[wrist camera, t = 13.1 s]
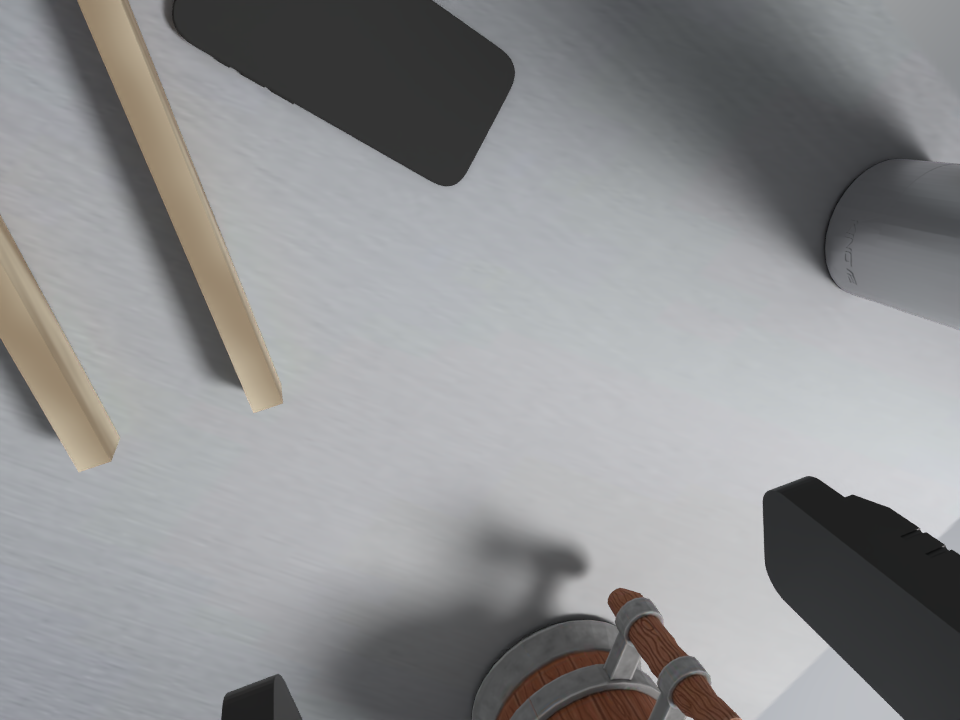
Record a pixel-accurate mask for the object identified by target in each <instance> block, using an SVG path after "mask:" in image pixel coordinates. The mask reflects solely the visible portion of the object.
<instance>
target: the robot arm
mask: <svg viewBox="0 0 960 720" xmlns="http://www.w3.org/2000/svg"><path fill="white" fill-rule="evenodd" d="M825 254H826V263H827V266H828V270H829V273H830V275H831V277H832V278H833V280H834V281H835V283H836V284H837V285H838V286H839V287H840V288H841V289H843V290H844V291H846V292H848V293H850V294H853V295H855V296H859V297H862V298H865V299H868V300H871V301H874V302H877V303H880V304H883V305H886V306H889V307H892V308H895V309H897V310H900V311H903V312H906V313H909V314H912V315H915V316H918V317H921V318H924V319H927V320H930V321H933V322H936V323H939V324H943V325H946V326H949V327H952V328H955V329H958V330H960V164H954V163H943V162H932V161H922V160H911V159H890V160H887V161H884V162H881V163H878V164H876V165H875V166H873V167H871V168H869V169H868V170H866V171H865V172H864V173H863V174H861V175H860V176H859V177H858V178H857V179H856V180H855V181H854V182H853V183H852V184H851V185H850V187H849V188H848V189H847V190H846V191H845V193H844V194H843V196H842V197H841V199H840V201H839V202H838V204H837V206H836V208H835V210H834V213H833V215H832V217H831V220H830V223H829V227H828V231H827V235H826V245H825ZM763 524H764V553H765V566H766V570H767V573H768V576H769V578H770V580H771V582H772V584H773V586H774V588H775V589H776V591H777V592H778V594H779V595H780V596H781V598H782V599H783V600H784V601H785V602H786V603H787V604H788V605H789V606H790V607H791V608H792V609H793V610H794V611H795V612H796V613H797V614H798V615H799V616H800V617H801V618H802V619H803V620H804V621H805V622H806V623H807V624H808V625H809V626H810V627H811V628H812V629H813V630H814V631H815V632H816V633H817V634H818V635H819V636H820V637H821V638H822V639H823V640H824V641H826V642H827V643H828V644H829V645H830V646H831V647H832V648H833V649H834V650H835V651H836V652H837V653H838V654H839V655H840V656H841V657H842V658H843V659H844V660H845V661H846V662H847V663H848V664H849V665H850V666H851V667H852V668H853V669H854V670H855V671H856V672H857V673H858V674H859V675H860V676H861V677H862V678H863V679H864V680H865V681H866V682H867V683H868V684H869V685H870V686H871V687H872V688H873V689H874V690H875V691H876V692H877V693H878V694H879V695H880V696H881V697H882V698H883V699H884V700H885V701H886V702H887V703H888V704H889V705H890V706H891V707H892V708H893V709H894V710H895V711H896V712H897V713H898V714H899V715H900V716H902V718H903V719H904V720H960V555H959V554H958V553H956V552H955V551H953V550H950V551H949V550H947V548H946V546H945V545H944V544H943V543H941V542H940V541H938V540H937V539H935V538H934V537H932V536H931V535H929V534H928V533H922V532H921V530H920V528H919V527H917V526H916V525H914V524H913V523H911V522H910V521H908V520H907V519H905V518H904V517H902V516H901V515H899V514H898V513H896V512H895V511H893V510H892V509H890V508H888V507H886V506H883V505H880V504H877V503H875V502H872V501H869V500H866V499H863V498H861V497H858V496H855V495H850V496H848V497H843V496H842V495H840V494H839V493H838V492H836V491H835V490H833V489H832V488H830V487H829V486H828V485H826V484H825V483H823V482H822V481H820V480H819V479H817V478H815V477H811V476H807V477H804V478H801V479H798V480H796V481H793V482H791V483H788V484H785V485H783V486H780V487H777V488H775V489H772V490H769V491H767V492H766V493H765V495H764V497H763ZM221 720H302V717H301V715H300V713H299V711H298V709H297V707H296V705H295V702H294V700H293V698H292V696H291V694H290V692H289V690H288V687H287V685H286V683H285V681H284V679H283V678H282V676H281V675H279V674H276V675H274V676H271V677H268V678H266V679H263V680H260V681H258V682H255V683H252V684H250V685H247V686H244V687H242V688H239V689H236V690H234V691H231V692H228V693H227V694H226V695H225V697H224V700H223V707H222V718H221Z"/></svg>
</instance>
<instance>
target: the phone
mask: <svg viewBox="0 0 960 720" xmlns="http://www.w3.org/2000/svg"><path fill="white" fill-rule="evenodd" d="M172 16H173V22H174V25H175V27H176V29H177V30H178V32H179V33H180V34H181V36H182V37H183V38H184V39H186V40H187V41H188V42H189V43H191V44H192V45H194V46H195V47H197V48H199V49H200V50H202V51H204V52H206V53H207V54H209V55H211V56H213V57H214V58H216V59H218V62H220V63H222V64H224V65H225V66H227V67H232V68H234V69H235V70H237V71H239V72H241V75H243V76H245V77H247V78H248V79H250V80H252V81H254V82H255V83H257V84H259V85H261V86H262V87H267V88H269V89H270V90H271V92H273V93H275V94H276V95H278V96H280V97H282V98H283V99H285V100H287V101H289V102H290V103H292V104H294V103H295V104H297V105H298V106H300V107H302V108H304V109H305V110H307V111H309V112H311V113H312V114H314V115H316V116H318V117H319V118H321V119H323V120H325V121H326V122H328V123H330V124H332V125H333V126H335V127H337V128H339V129H340V130H342V131H344V132H346V133H347V134H349V135H351V136H353V137H354V138H356V139H358V140H360V141H361V142H363V143H365V144H367V145H369V146H370V147H372V148H374V149H376V150H377V151H379V152H381V153H383V154H384V155H386V156H388V157H390V158H391V159H393V160H395V161H397V162H398V163H400V164H402V165H404V166H405V167H407V168H409V169H411V170H412V171H414V172H416V173H418V174H419V175H421V176H423V177H425V178H426V179H428V180H430V181H432V182H434V183H436V184H438V185H442V186H452V185H455V184H457V183H458V182H459V181H460V180H461V179H462V178H463V177H464V176H465V174H466V173H467V171H468V169H469V167H470V165H471V163H472V161H473V160H474V158H475V156H476V154H477V152H478V150H479V148H480V146H481V144H482V143H483V141H484V139H485V137H486V135H487V133H488V131H489V129H490V127H491V125H492V124H493V122H494V120H495V118H496V116H497V114H498V112H499V110H500V108H501V106H502V104H503V103H504V101H505V99H506V97H507V95H508V93H509V91H510V89H511V87H512V84H513V81H514V76H515V70H514V65H513V63H512V61H511V59H510V58H509V56H508V55H507V54H506V53H505V52H504V51H502V50H501V49H500V48H498V47H497V46H496V45H494V44H493V43H492V42H490V41H489V40H487V39H486V38H484V37H483V36H482V35H480V34H479V33H477V32H476V31H475V30H473V29H472V28H470V27H469V26H468V25H466V24H465V23H463V22H462V21H461V20H459V19H458V18H456V17H455V16H453V15H452V14H451V13H449V12H448V11H446V10H445V9H444V8H442V7H441V6H439V5H438V4H437V3H435V2H434V1H432V0H175V1H174V4H173V10H172Z"/></svg>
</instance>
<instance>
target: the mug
mask: <svg viewBox="0 0 960 720" xmlns="http://www.w3.org/2000/svg"><path fill="white" fill-rule="evenodd" d="M608 605H609V607H610V608H611V610H612V612H613V613H614V615H615V617H616V620H615V624H616V626H614V625H612V624H609V623H606V622H602V621H594V620H576V621H567V622H562V623H558V624H553V625H551V626H548V627H546V628H543V629H541V630H538V631H536V632H534V633H532V634H531V635H529V636H527V637H525V638H524V639H522V640H521V641H519V642H518V643H517V644H515V645H514V646H513V647H512V648H510V649H509V650H508V651H507V652H506V653H505V654H504V655H503V656H502V657H501V658H500V659H499V660H498V661H497V662H496V663H495V665H494V666H493V667H492V669H491V670H490V672H489V673H488V674H487V676H486V677H485V679H484V680H483V682H482V684H481V686H480V688H479V690H478V693H477V695H476V697H475V701H474V705H473V709H472V720H685V719H686V717H687V716H688V717H691V718H693V719H694V720H742V719H741V718H740V717H739V716H738V715H737V714H736V713H735V712H734V711H733V710H732V709H731V708H730V707H729V706H728V705H727V704H726V703H725V702H724V701H723V700H722V699H721V698H719V697H718V696H717V695H716V693H715V692H714V690H713V689H712V687H711V686H710V685H711V678H710V675H709V674H708V673H707V672H706V670H705V669H704V668H703V667H702V665H701V664H700V663H699V661H698V660H697V659H696V658H695V657H691V656H688V655H687V654H686V653H685V652H684V651H683V650H682V649H681V648H680V647H679V646H678V645H677V643H676V641H675V639H674V638H673V637H672V635H671V634H670V633H669V632H668V631H667V630H666V628H665V627H664V626H663V625H664V621H663V617H662V615H661V614H660V612H659V611H658V609H657V608H656V607H655V605H654V604H653V602H652V601H651V600H650V599H647V598H644V597H643V596H642V595H641V594H640V593H637V592H634V591H630V590H627V589H624V588H618V589H616V590H614V591H613V592H612V593H611V594H610V596H609V598H608ZM641 657H642V658H643V659H644V661H645V662H646V663H647V664H648V666H649V668H650V670H651V672H652V673H653V674H654V675H655V676H656V677H657V678H658V681H657V685H658V687H657V685H656V684H655V683H654V681H653V680H652V679H651V678H650V676H649V675H647V674H646V673H644V672H643V671H641V662H640V659H641Z"/></svg>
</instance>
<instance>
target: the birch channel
mask: <svg viewBox="0 0 960 720" xmlns="http://www.w3.org/2000/svg"><path fill="white" fill-rule="evenodd" d="M77 1H78V4H79V6H80V8H81V11H82V13H83V15H84V18H85V20H86V22H87V25H88V27H89V29H90V32H91V34H92V36H93V39H94V41H95V43H96V46H97V48H98V50H99V53H100V55H101V57H102V60H103V62H104V64H105V67H106V69H107V71H108V74H109V76H110V78H111V81H112V83H113V85H114V88H115V90H116V92H117V95H118V97H119V100H120V102H121V104H122V107H123V109H124V111H125V114H126V116H127V118H128V121H129V123H130V125H131V128H132V130H133V132H134V135H135V137H136V139H137V142H138V144H139V146H140V149H141V151H142V153H143V156H144V158H145V160H146V163H147V165H148V167H149V170H150V172H151V174H152V177H153V179H154V181H155V184H156V186H157V188H158V191H159V193H160V195H161V198H162V200H163V202H164V205H165V207H166V209H167V212H168V214H169V216H170V219H171V221H172V223H173V226H174V228H175V230H176V233H177V235H178V237H179V240H180V242H181V244H182V247H183V249H184V251H185V254H186V256H187V258H188V261H189V263H190V265H191V268H192V270H193V272H194V275H195V277H196V279H197V282H198V284H199V287H200V289H201V291H202V294H203V296H204V298H205V301H206V303H207V305H208V308H209V310H210V312H211V315H212V317H213V319H214V322H215V324H216V326H217V329H218V331H219V333H220V336H221V338H222V340H223V343H224V345H225V347H226V350H227V352H228V354H229V357H230V359H231V361H232V364H233V366H234V368H235V371H236V373H237V375H238V378H239V380H240V382H241V385H242V387H243V389H244V392H245V394H246V396H247V399H248V401H249V403H250V406H251V408H252V410H253V413H256V412H259V411H262V410H265V409H268V408H271V407H274V406H276V405H279V404H282V403H283V399H282V388H281V383H280V380H279V378H278V375H277V373H276V370H275V368H274V365H273V363H272V360H271V358H270V355H269V353H268V350H267V348H266V345H265V343H264V340H263V338H262V335H261V333H260V330H259V328H258V325H257V323H256V320H255V318H254V315H253V313H252V310H251V308H250V305H249V303H248V300H247V298H246V295H245V293H244V290H243V288H242V285H241V283H240V280H239V278H238V275H237V273H236V270H235V268H234V265H233V263H232V260H231V257H230V255H229V252H228V250H227V247H226V245H225V242H224V240H223V237H222V235H221V232H220V230H219V227H218V225H217V222H216V220H215V217H214V215H213V212H212V210H211V207H210V205H209V202H208V200H207V197H206V195H205V192H204V190H203V187H202V185H201V182H200V180H199V177H198V175H197V172H196V170H195V167H194V165H193V162H192V160H191V157H190V155H189V152H188V150H187V147H186V145H185V142H184V140H183V137H182V135H181V132H180V130H179V127H178V125H177V122H176V120H175V117H174V115H173V112H172V110H171V107H170V104H169V102H168V99H167V97H166V94H165V92H164V89H163V87H162V84H161V82H160V79H159V77H158V74H157V72H156V69H155V67H154V64H153V62H152V59H151V57H150V54H149V52H148V49H147V47H146V44H145V42H144V39H143V37H142V34H141V32H140V29H139V27H138V24H137V22H136V19H135V17H134V14H133V12H132V9H131V7H130V4H129V2H128V0H77ZM0 338H1V340H2V342H3V343H4V345H5V347H6V349H7V350H8V352H9V354H10V355H11V357H12V359H13V361H14V362H15V364H16V366H17V367H18V369H19V371H20V372H21V374H22V376H23V378H24V379H25V381H26V383H27V384H28V386H29V388H30V390H31V391H32V393H33V395H34V396H35V398H36V400H37V402H38V403H39V405H40V407H41V408H42V410H43V412H44V414H45V415H46V417H47V419H48V420H49V422H50V424H51V426H52V427H53V429H54V431H55V432H56V434H57V436H58V437H59V439H60V441H61V443H62V444H63V446H64V448H65V449H66V451H67V453H68V455H69V456H70V458H71V460H72V461H73V463H74V465H75V467H76V468H77V470H78V472H81V471H84V470H87V469H90V468H93V467H96V466H99V465H102V464H105V463H108V462H111V460H112V458H113V455H114V453H115V450H116V447H117V445H118V442H119V440H120V437H119V435H118V433H117V431H116V429H115V427H114V426H113V424H112V422H111V420H110V418H109V416H108V414H107V413H106V411H105V409H104V407H103V405H102V403H101V401H100V400H99V398H98V396H97V394H96V392H95V390H94V388H93V387H92V385H91V383H90V381H89V379H88V377H87V375H86V374H85V372H84V370H83V368H82V366H81V364H80V362H79V360H78V359H77V357H76V355H75V353H74V351H73V349H72V347H71V346H70V344H69V342H68V340H67V338H66V336H65V334H64V333H63V331H62V329H61V327H60V325H59V323H58V321H57V320H56V318H55V316H54V314H53V312H52V310H51V308H50V307H49V305H48V303H47V301H46V299H45V297H44V295H43V294H42V292H41V290H40V288H39V286H38V284H37V282H36V281H35V279H34V277H33V275H32V273H31V271H30V269H29V268H28V266H27V264H26V262H25V260H24V258H23V256H22V255H21V253H20V251H19V249H18V247H17V245H16V243H15V241H14V240H13V238H12V236H11V234H10V232H9V230H8V228H7V227H6V225H5V223H4V221H3V219H2V217H1V215H0Z"/></svg>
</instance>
